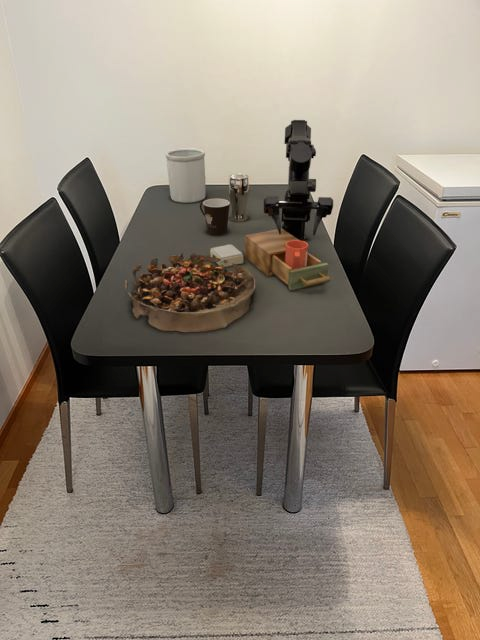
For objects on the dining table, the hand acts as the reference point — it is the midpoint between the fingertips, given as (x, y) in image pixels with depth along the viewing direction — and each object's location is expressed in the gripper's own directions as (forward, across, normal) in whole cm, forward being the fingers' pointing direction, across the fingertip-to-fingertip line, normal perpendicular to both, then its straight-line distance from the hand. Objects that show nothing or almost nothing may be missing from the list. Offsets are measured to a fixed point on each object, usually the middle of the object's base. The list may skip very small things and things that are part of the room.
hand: (297, 234), depth 136 cm
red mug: (+10, 0, +2) cm, 11 cm away
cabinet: (+4, -6, +12) cm, 13 cm away
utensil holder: (-36, -41, +53) cm, 76 cm away
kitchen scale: (+4, -20, +12) cm, 23 cm away
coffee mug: (-12, -26, +28) cm, 40 cm away
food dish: (+20, -27, -4) cm, 33 cm away
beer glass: (-21, -19, +37) cm, 47 cm away
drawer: (+12, +1, +3) cm, 12 cm away
